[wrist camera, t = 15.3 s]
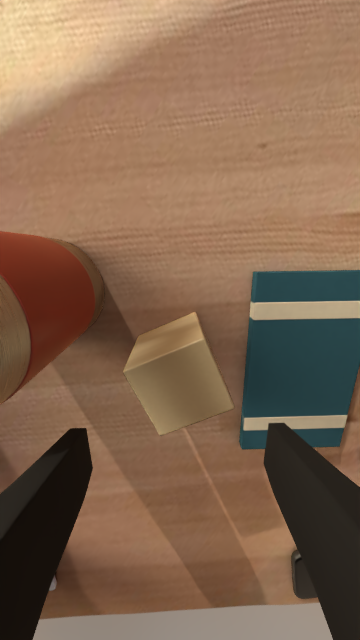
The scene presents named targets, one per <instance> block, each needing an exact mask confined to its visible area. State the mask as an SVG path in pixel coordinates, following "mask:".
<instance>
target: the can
mask: <svg viewBox="0 0 360 640" xmlns="http://www.w3.org/2000/svg"><path fill="white" fill-rule="evenodd" d="M104 297H105V292H104V284H103V281H102V277H101V275H100V273H99V270H98V269H97V267H96V265H95V264H94V263H93V261H92V260H91V259H90V258H89V257H88V256H87V255H86V254H85V253H84V252H83V251H81V250H80V249H79V248H77V247H76V246H74V245H72V244H70V243H68V242H65V241H62V240H58V239H52V238H44V237H40V236H34V235H27V234H19V233H11V232H2V231H0V404H2V403H3V402H5V401H6V400H8V399H9V398H11V397H12V396H13V395H14V394H15V393H16V392H17V391H18V390H20V389H21V388H22V387H23V386H24V385H25V384H26V383H28V382H29V381H30V380H31V379H32V378H33V377H34V376H35V375H37V374H38V373H39V372H40V371H41V370H42V369H43V368H45V367H46V366H47V365H48V364H49V363H50V362H51V361H52V360H54V359H55V358H56V357H57V356H58V355H59V354H60V353H62V352H63V351H64V350H65V349H66V348H67V347H68V346H69V345H71V344H72V343H73V342H74V341H75V340H76V339H77V338H78V337H80V336H81V335H82V334H83V333H84V331H85V330H86V329H88V328H89V327H90V326H91V325H92V324H93V323H94V322H95V321H96V319H97V318H98V317H99V315H100V313H101V311H102V308H103V304H104Z"/></svg>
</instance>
